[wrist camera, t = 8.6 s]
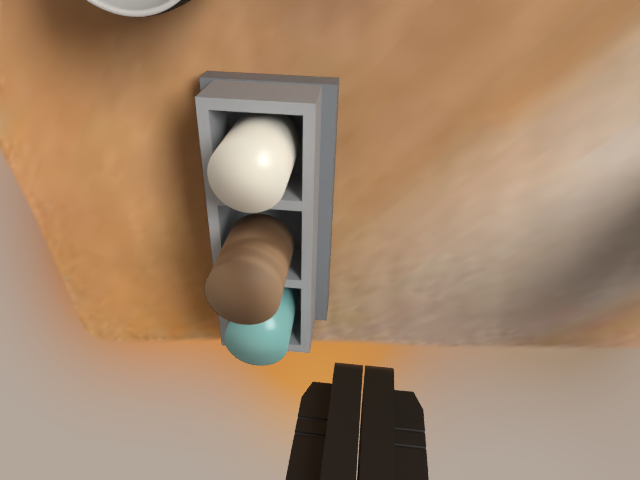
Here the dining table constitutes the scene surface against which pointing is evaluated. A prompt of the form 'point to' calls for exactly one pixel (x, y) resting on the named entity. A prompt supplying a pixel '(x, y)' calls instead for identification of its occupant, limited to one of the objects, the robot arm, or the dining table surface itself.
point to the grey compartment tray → (304, 183)
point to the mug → (137, 6)
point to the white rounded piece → (254, 162)
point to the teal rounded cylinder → (264, 334)
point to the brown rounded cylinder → (251, 270)
